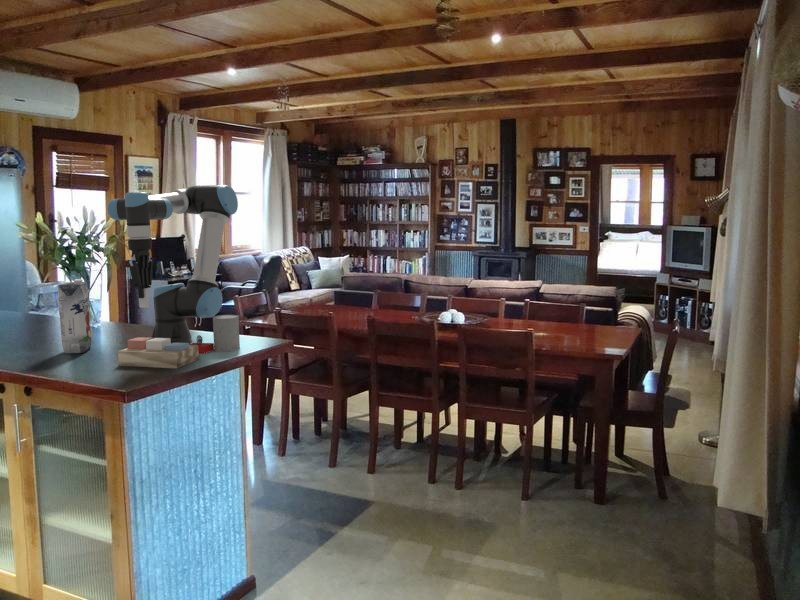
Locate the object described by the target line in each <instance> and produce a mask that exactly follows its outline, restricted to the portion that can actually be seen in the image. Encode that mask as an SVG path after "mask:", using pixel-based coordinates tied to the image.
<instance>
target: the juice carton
mask: <svg viewBox="0 0 800 600" xmlns="http://www.w3.org/2000/svg"><path fill="white" fill-rule="evenodd" d="M57 289H58V290H57V292H58V293H57V297H58V298H57V299H58V310H59V323H60V324H59V325H60V337H61V345H62V346H61V347H62V349H63V350H62V351H63V353H64V354H84V353H86V352H87V351H88V350H90V349H91V348H92V327H91V312H90V311H91V310H90V299H89V298H90V296H89V287H88V282H87V281H83V279H77V278H76V279H74V280H73V281H71V282H66V281H65V282H64V283H62V284H58V286H57Z"/></svg>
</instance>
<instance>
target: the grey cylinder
mask: <svg viewBox="0 0 800 600" xmlns="http://www.w3.org/2000/svg"><path fill="white" fill-rule="evenodd" d="M211 318H212V329H213V330H212V331H213V343H214V350H213V351H215V352H220V353H221V352H223V353H224V352H225V353H226V352H235V351H238V349H239V350H240V349H241V346H240V345H241V344H240V322H239V320H240V319H239V318H240V317H239V315H237V314H219V315H215V316H213V317H211Z"/></svg>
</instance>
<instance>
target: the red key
mask: <svg viewBox="0 0 800 600" xmlns="http://www.w3.org/2000/svg"><path fill="white" fill-rule="evenodd" d="M150 339H152V337H141V336H139V337H133V338H130V339H127V340H126V341H127V342H126V343H127V348H128V349H146V341H147V340H150Z"/></svg>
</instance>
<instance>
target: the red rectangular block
mask: <svg viewBox="0 0 800 600" xmlns="http://www.w3.org/2000/svg"><path fill="white" fill-rule="evenodd" d="M189 345H198V353H199V354H209V353H210V352H212V351H215V350H214V342H213V343H212V342H203V336H202V335H200V334H199V335H197V336H196V342H191V343H189Z"/></svg>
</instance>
